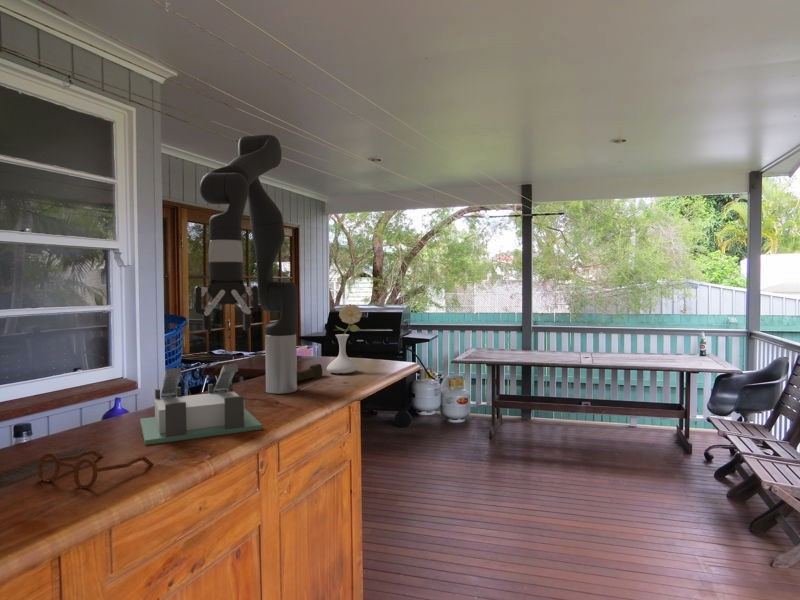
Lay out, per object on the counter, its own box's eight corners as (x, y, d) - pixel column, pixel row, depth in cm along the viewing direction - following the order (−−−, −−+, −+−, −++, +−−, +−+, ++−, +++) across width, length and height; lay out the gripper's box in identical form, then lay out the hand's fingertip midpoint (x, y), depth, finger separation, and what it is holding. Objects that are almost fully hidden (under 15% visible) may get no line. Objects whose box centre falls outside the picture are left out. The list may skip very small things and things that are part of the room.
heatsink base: (140, 422, 127) (139, 389, 127) (243, 410, 139) (242, 379, 138) (145, 445, 110) (144, 406, 110) (262, 429, 122) (261, 394, 121)
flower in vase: (322, 375, 190) (322, 304, 189) (332, 369, 201) (331, 303, 200) (358, 376, 188) (358, 304, 187) (366, 370, 199) (365, 303, 198)
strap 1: (161, 401, 127) (160, 393, 128) (175, 399, 129) (174, 391, 129) (166, 376, 114) (165, 367, 115) (181, 374, 116) (180, 366, 117)
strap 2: (214, 395, 133) (213, 388, 134) (226, 394, 134) (225, 386, 135) (224, 371, 120) (223, 363, 121) (238, 370, 122) (237, 361, 122)
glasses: (35, 482, 91) (34, 453, 91) (102, 458, 103) (101, 433, 103) (93, 493, 87) (92, 462, 86) (155, 466, 99) (155, 439, 99)
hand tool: (292, 386, 171) (292, 372, 171) (283, 385, 173) (283, 370, 173) (328, 377, 188) (328, 363, 188) (319, 375, 190) (319, 362, 190)
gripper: (253, 261, 130) (254, 328, 131) (190, 260, 123) (192, 331, 124) (261, 260, 124) (262, 331, 124) (195, 259, 117) (196, 334, 118)
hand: (227, 331), depth 124 cm, fingers open, 8 cm apart
